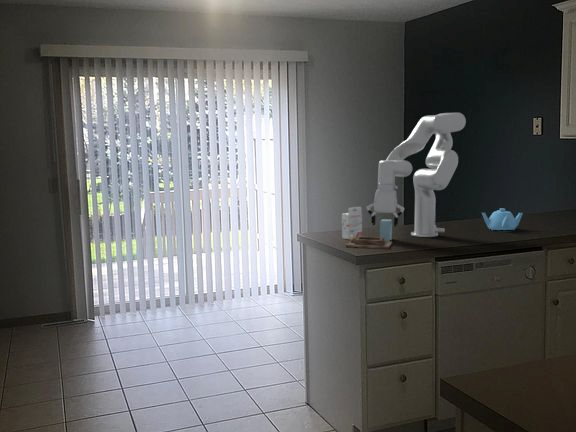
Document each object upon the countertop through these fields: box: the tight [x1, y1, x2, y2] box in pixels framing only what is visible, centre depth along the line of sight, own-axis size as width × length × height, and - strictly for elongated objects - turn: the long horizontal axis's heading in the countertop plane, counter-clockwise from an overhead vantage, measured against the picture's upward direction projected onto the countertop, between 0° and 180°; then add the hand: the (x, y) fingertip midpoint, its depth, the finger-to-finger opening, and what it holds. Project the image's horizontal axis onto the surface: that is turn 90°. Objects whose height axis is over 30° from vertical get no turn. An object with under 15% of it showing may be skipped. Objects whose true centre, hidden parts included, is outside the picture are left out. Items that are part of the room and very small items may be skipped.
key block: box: [379, 218, 393, 241], centre depth 290 cm, size 4×8×9 cm, turn 164°
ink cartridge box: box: [341, 206, 363, 240], centre depth 296 cm, size 9×5×15 cm, turn 126°
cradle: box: [345, 235, 393, 250], centre depth 276 cm, size 18×14×4 cm
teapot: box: [481, 207, 523, 231], centre depth 319 cm, size 15×15×11 cm
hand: (384, 225), depth 289 cm, fingers open, 9 cm apart
